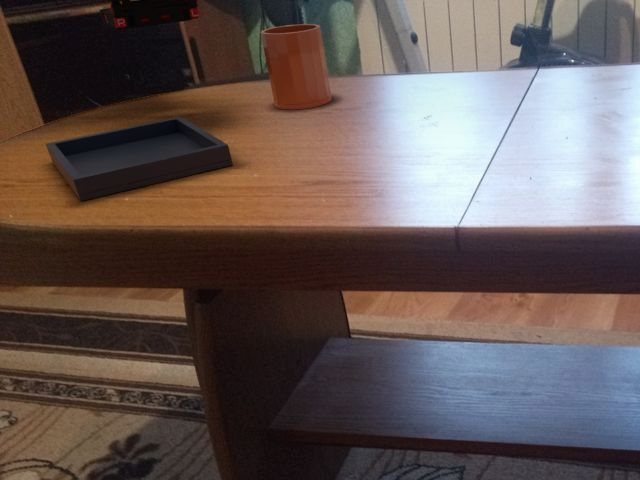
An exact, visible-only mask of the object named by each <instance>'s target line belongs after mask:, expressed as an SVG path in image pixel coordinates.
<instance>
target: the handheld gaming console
mask: <svg viewBox="0 0 640 480" xmlns="http://www.w3.org/2000/svg"><path fill="white" fill-rule="evenodd" d="M99 13H100V17H101V20H102V23H103V24H104V25H106V26H109V27H112V28H113V29H117V30H120V29H128V30H129V29H136V28H144V27H152V26H158V25H166V24H173V23H182V22H189V21H192V20H195V19H199V18H200V12H199V5H198V0H110V7H109V8H101V9H99Z"/></svg>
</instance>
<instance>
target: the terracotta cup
mask: <svg viewBox="0 0 640 480" xmlns="http://www.w3.org/2000/svg"><path fill="white" fill-rule="evenodd" d="M322 34H323V33H322V28H321V25H320V24H315V23H301V24H288V25H281V26H274V27H269V28H266V29H263V30H261V31H260V37H261V43H262V48H263V54H264V57H265V63H266V67H267V72H268V79H269V83H270V88H271V93H272V99H273V102H274V106H275V107H276V108H278V109H279V110H280V109H281V110H303V109H304V110H305V109H310V108H311V109H312V108H316V107H320V106H324V105H327V104H328V103H330V102H331V101H332V100H333V99H332V93H331V92H332V91H331V85H330V79H329V73H328V67H327V60H326V54H325V48H324V47H325V46H324V42H323V35H322Z"/></svg>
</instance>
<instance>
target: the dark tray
mask: <svg viewBox="0 0 640 480" xmlns="http://www.w3.org/2000/svg"><path fill="white" fill-rule="evenodd" d="M45 146H46V148H47V152H48V154H49V156H50V160H51V162H52V164H53V165H54V167H55V168H56V169H57V171H58V172H59V173H60V175H61V176H62V178H63V179H64V180H65V182H66V183H67V185H69V187H70V188H71V190H72V191H73V193H74V194H75V195H76V196H77V198H78V199H79V200H80V202H84V201H88V200H93V199H96V198H100V197H106V196H109V195H114V194H117V193H122V192H126V191H130V190H135V189H138V188H142V187H147V186H152V185H155V184H160V183H164V182H169V181H173V180H176V179H181V178H185V177H188V176H193V175H197V174H202V173H205V172H209V171H210V172H211V171H214V170H219V169H222V168H226V167H230V166H233V160H232V155H231V151H230V147H229V144H228V143H226V142H224V141H222V140H221V139H220V138H217V137H216V136H214V135H213V134H211V133H209V132H207V131H206V130H205V129H203V128H201V127H199V126H198V125H196V124H195V123H193V122H191V121H189V120H187V119H186V118H185V117H183V116H177V117H172V118H171V117H170V118H167V119H162V120H157V121H152V122H147V123H142V124H136V125H132V126H127V127H122V128H117V129H111V130H106V131H101V132H97V133H91V134H88V135H82V136H81V135H80V136H78V137H72V138H67V139H62V140H56V141H52V142H47V143H45Z"/></svg>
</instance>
